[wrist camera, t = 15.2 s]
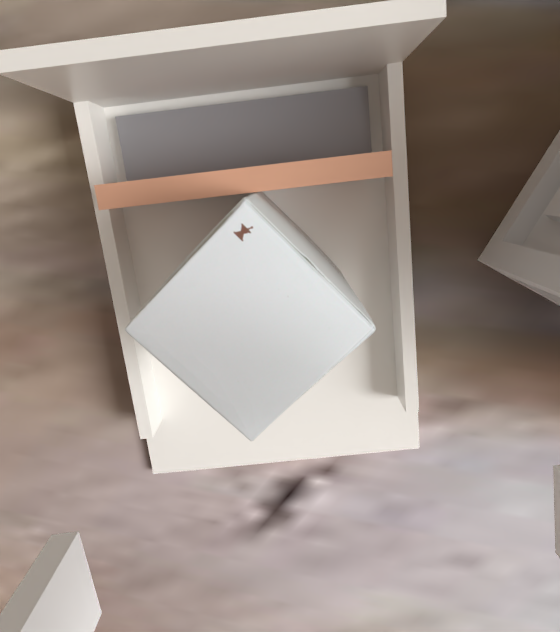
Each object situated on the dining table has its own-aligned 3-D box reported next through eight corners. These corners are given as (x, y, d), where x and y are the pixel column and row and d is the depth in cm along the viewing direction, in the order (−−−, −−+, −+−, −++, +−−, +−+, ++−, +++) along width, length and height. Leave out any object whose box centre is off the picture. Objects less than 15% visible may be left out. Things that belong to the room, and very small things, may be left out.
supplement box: (178, 272, 32) (114, 326, 20) (261, 186, 31) (247, 189, 19) (261, 351, 33) (249, 448, 21) (344, 273, 32) (382, 328, 20)
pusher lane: (155, 469, 36) (105, 582, 26) (82, 93, 30) (-22, 47, 20) (417, 443, 36) (471, 549, 25) (397, 54, 29) (459, -15, 19)
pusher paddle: (133, 205, 31) (98, 210, 25) (117, 117, 30) (77, 101, 24) (371, 177, 30) (392, 176, 25) (366, 87, 29) (386, 63, 23)
